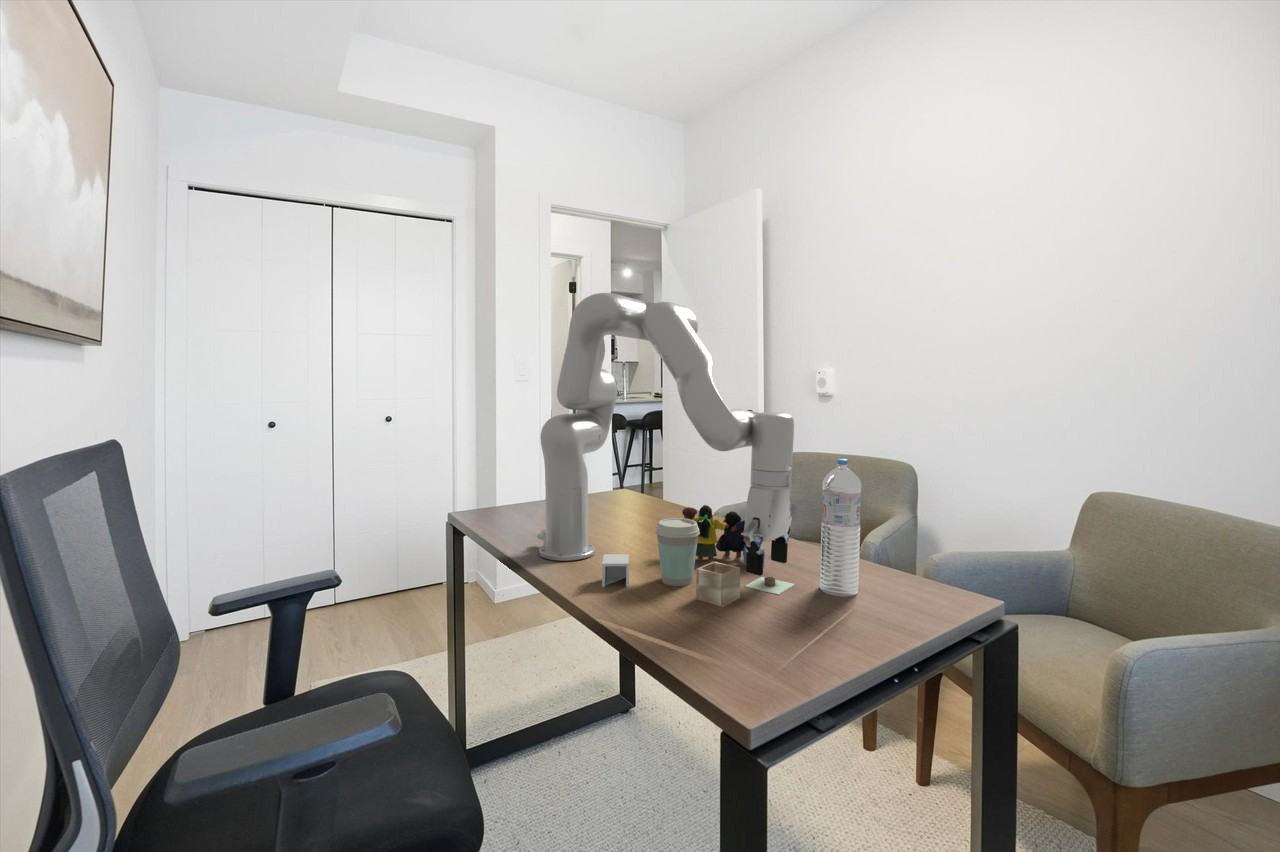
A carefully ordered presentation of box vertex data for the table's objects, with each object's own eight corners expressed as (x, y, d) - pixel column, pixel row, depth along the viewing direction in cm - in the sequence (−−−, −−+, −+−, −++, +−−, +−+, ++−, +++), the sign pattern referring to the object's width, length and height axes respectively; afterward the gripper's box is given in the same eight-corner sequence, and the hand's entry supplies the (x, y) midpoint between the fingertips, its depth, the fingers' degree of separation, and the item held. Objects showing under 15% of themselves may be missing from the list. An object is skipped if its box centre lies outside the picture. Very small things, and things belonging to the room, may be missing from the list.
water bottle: (830, 583, 116) (834, 456, 114) (864, 592, 111) (869, 459, 109) (812, 592, 111) (816, 459, 109) (847, 602, 106) (851, 463, 104)
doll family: (775, 558, 133) (776, 499, 132) (778, 571, 124) (779, 507, 123) (672, 553, 136) (672, 495, 135) (667, 565, 127) (668, 503, 126)
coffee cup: (696, 592, 111) (697, 529, 110) (651, 589, 113) (651, 526, 112) (701, 577, 119) (702, 518, 118) (659, 574, 121) (659, 516, 120)
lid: (744, 592, 113) (744, 579, 113) (761, 582, 118) (761, 570, 118) (778, 600, 108) (778, 587, 108) (794, 590, 114) (795, 577, 114)
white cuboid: (603, 578, 118) (603, 554, 118) (629, 578, 119) (629, 554, 118) (602, 589, 113) (602, 563, 112) (628, 589, 113) (628, 563, 112)
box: (696, 601, 106) (696, 568, 106) (713, 593, 111) (713, 561, 110) (723, 609, 103) (723, 575, 102) (739, 600, 107) (740, 567, 107)
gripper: (774, 470, 121) (770, 553, 122) (729, 481, 108) (726, 574, 109) (809, 475, 116) (804, 561, 118) (767, 487, 103) (763, 584, 104)
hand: (766, 567), depth 113 cm, fingers open, 9 cm apart
